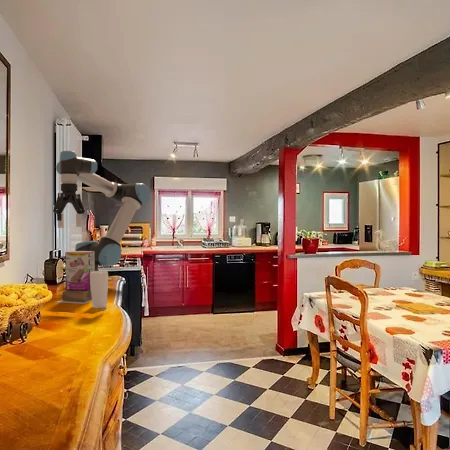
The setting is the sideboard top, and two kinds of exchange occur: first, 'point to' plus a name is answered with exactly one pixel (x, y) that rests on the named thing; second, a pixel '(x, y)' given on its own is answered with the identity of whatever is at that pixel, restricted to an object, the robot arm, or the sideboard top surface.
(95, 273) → the drinking glass
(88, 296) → the walnut block
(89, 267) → the candy bar box
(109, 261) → the robot arm
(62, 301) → the board
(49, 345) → the sideboard top surface
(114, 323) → the sideboard top surface
